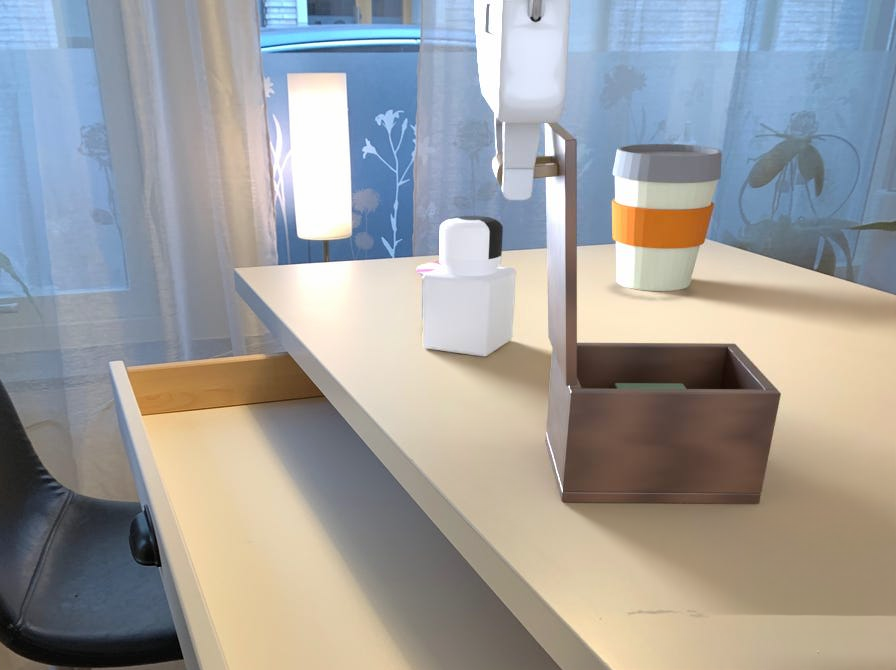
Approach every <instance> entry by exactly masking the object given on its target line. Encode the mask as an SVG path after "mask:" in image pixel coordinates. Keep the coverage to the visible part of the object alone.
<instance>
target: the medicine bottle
mask: <svg viewBox="0 0 896 670" xmlns="http://www.w3.org/2000/svg"><path fill="white" fill-rule="evenodd" d="M503 231H504V226H503V224H502V223H501V221H499V220H497V219H495V218H493V217H491V216H487V215H473V214H472V215H469V214H468V215H454V216H451V217H449V218H447V219H445V220H443V221H442V222H441V224H440V225H439V252H438V253H439V256H438V257H439V258H438V261H439V262H440V263H441V264H442V267H440V268H438V269H436V270H434V271H431V272H429V273H427V274H425V275H422V278H421V279H422V282H421V283H422V285H421V287H422V289H421V291H422V292H421V295H422V297H421V299H422V300H421V309H422V310H421V346H422V348H423V349H427V350H434V351H442V352H448V353H456V354H463V355H469V356H476V357H488V356H490V354H492V353H494V352H495V351H497V350H498V349H500V348H501V347H503V346H504V345H506V344H508V343H509V342H510V341H512V340H513V337H514V336H513V335H514V318H515V299H516V298H515V297H516V281H517V280H516V279H517V278H516V277H517V270H516V269H515V267H510V266H500V265H501V264H502V252H503V235H504V234H503Z"/></svg>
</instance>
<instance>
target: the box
mask: <svg viewBox="0 0 896 670" xmlns="http://www.w3.org/2000/svg"><path fill="white" fill-rule="evenodd" d="M550 360H551V362H550V372H549V374H550V375H549V388H548V402H547V413H546V426H545V444H546V448H547V452H548V455H549V460H550V463H551V467H552V470H553V474H554V478H555V482H556V485H557V489H558V493H559V496H560V501H561V502H562V503H610V504H611V503H613V504H615V503H617V504H619V503H624V504H625V503H626V504H627V503H629V504H631V503H632V504H749V505H751V504H752V505H753V504H760V501H761V497H762V492H763V487H764V482H765V476H766V472H767V467H768V461H769V457H770V451H771V448H772V447H771V446H772V442H773V435H774V432H775V431H774V430H775V426H776V420H777V415H778V411H779V407H780V401H781V395H782V393H781V392H780V391H779V390H778V389H777V388H776V386H775V385H774V384H773V383H772V382H771V381H770V380H769V378H767V377H766V375H765V374H764V373H763V372H762V371H761V370H760V369H759V367H757V366H756V364H755V363H754V362H753V361H752V360H751V359H750V358H749V357H748V356H747V355H746V353H745V352H744V351H743V350H742V349H741V348H740V347H739V346H738V345H737V344H736V343H718V342H717V343H710V342H709V343H705V342H703V343H699V342H697V343H696V342H691V343H690V342H687V343H686V342H577V385H573V386H566V383H565V381H564V378H563V375H562V372H561V370H560V367H559V364H558V362H557V359H556V356H555V353H554V351H553V348H552V347H551V359H550ZM615 383H679V384H683V385H684V386H685V388H686V389H614V384H615Z"/></svg>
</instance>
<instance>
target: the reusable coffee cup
mask: <svg viewBox="0 0 896 670" xmlns="http://www.w3.org/2000/svg"><path fill="white" fill-rule="evenodd" d="M616 148H617V149H616V154H615V159H614V163H613V168H612V174H611V175H613V176H614V196H615V197H614V198H613V199H612V200H611V222H612V223H611V224H612V226H611V227H612V229H611V230H612V231H611V232H612V240H613V241H615V259H616V262H615V263H616V264H615V265H616V267H615V268H616V270H615V271H616V283H617V284H618V285H619V286H622V287H625V288H629V289H634V290H641V291H650V292H672V291H679V290H684V289H686V288H689V286H690V285H691V281H692V277H693V273H694V269H695V266H696V261H697V258H698V254H699V249H700V248H701V245H703V244H705V241H706V238H707V234H708V230H709V226H710V222H711V219H712V215H713V212H714V208H715V203H714V202H713V199H714V198H713V197H714V194H715V190H716V188H717V187H716V186H717V183H718V181H719V180H720V179H721V177H722V175H721V174H722V156H723V151H722V150H721V149H719V148H715V147H710V146H704V145H703V146H702V145H695V144H694V145H692V144H676V143H639V144H638V143H637V144H627V145H621V146H619V147H616Z"/></svg>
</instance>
